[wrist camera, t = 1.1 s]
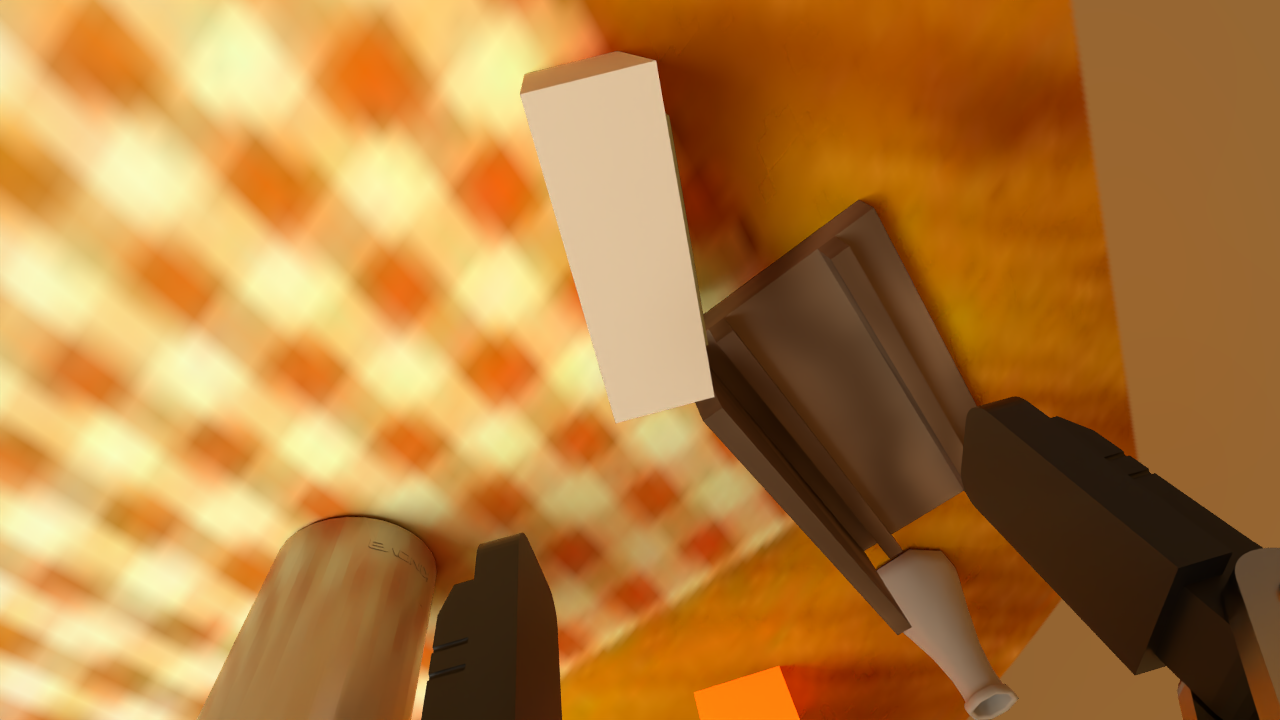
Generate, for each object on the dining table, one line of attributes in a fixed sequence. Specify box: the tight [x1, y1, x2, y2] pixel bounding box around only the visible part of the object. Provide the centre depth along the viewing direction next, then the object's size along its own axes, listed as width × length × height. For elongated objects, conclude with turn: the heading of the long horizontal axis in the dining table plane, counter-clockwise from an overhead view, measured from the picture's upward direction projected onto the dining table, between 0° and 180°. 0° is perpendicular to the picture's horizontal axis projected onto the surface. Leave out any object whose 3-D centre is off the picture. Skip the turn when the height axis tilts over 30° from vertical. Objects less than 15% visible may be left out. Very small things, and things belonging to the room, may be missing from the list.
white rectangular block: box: [520, 51, 714, 423], centre depth 23 cm, size 12×4×9 cm, turn 12°
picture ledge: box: [695, 200, 977, 635], centre depth 32 cm, size 12×22×8 cm, turn 37°
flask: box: [877, 549, 1019, 720], centre depth 41 cm, size 7×7×10 cm
